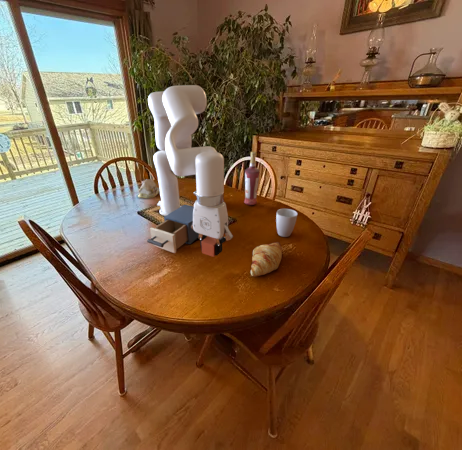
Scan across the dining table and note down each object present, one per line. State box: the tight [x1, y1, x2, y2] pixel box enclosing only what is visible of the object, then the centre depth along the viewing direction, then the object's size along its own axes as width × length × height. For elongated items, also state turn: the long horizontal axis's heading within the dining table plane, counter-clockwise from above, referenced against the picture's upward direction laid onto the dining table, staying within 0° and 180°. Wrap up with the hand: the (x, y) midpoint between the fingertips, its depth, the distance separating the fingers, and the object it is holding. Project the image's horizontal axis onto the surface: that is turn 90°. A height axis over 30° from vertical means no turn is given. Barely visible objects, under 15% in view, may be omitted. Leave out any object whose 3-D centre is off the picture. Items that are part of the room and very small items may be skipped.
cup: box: [275, 208, 298, 238], centre depth 99 cm, size 8×8×10 cm
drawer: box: [146, 219, 188, 254], centre depth 94 cm, size 18×11×8 cm, turn 147°
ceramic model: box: [137, 178, 160, 199], centre depth 147 cm, size 14×11×10 cm
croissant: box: [250, 241, 283, 277], centre depth 83 cm, size 21×10×8 cm, turn 143°
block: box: [201, 236, 216, 258], centre depth 74 cm, size 4×4×4 cm
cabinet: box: [163, 204, 199, 245], centre depth 103 cm, size 15×13×10 cm
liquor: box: [243, 151, 260, 207], centre depth 123 cm, size 7×7×28 cm
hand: (211, 250), depth 75 cm, fingers closed on block, 4 cm apart
